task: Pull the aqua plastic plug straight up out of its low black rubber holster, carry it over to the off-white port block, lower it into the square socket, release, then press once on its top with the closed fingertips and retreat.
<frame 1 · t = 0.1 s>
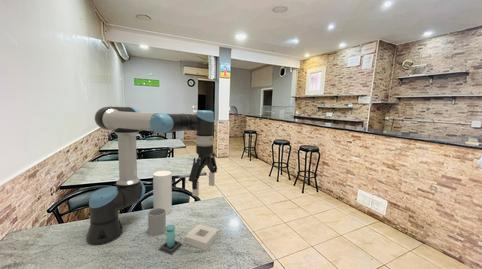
hand: (204, 190, 93), 28 cm above the table, fingers open, 13 cm apart
vase: (162, 211, 127), on the table
plug: (170, 247, 94), point 1 cm above the table, touching holster
mug: (158, 230, 108), on the table
port: (202, 240, 100), on the table
holster: (170, 248, 94), on the table
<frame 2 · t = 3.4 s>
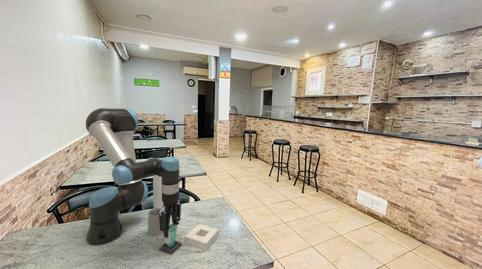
hand: (170, 240, 93), 4 cm above the table, fingers closed on plug, 4 cm apart
plug: (170, 247, 94), point 1 cm above the table, touching gripper, holster
everything else where it was.
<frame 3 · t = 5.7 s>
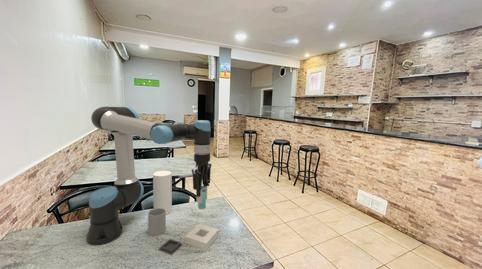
hand: (201, 200, 97), 21 cm above the table, fingers closed on plug, 4 cm apart
plug: (202, 207, 98), point 18 cm above the table, touching gripper
everything else where it was.
when the fingers open (5 cm above the table, at t = 8.2 s): plug drops 2 cm, resting in port.
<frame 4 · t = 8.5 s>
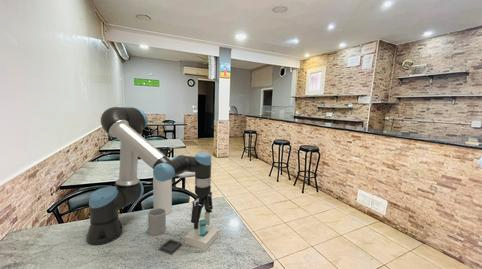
hand: (202, 229, 100), 6 cm above the table, fingers open, 8 cm apart
plug: (202, 240, 100), resting in port
everything else where it was.
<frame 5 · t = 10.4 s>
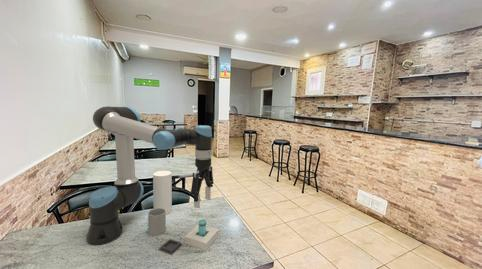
hand: (202, 203, 98), 19 cm above the table, fingers open, 9 cm apart
nothing on the table moved.
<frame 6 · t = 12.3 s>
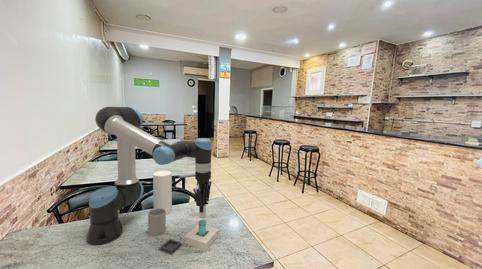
hand: (202, 217, 99), 12 cm above the table, fingers closed
nothing on the table moved.
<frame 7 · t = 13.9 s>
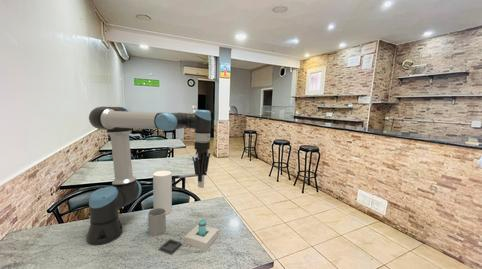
hand: (200, 187, 102), 26 cm above the table, fingers closed
nothing on the table moved.
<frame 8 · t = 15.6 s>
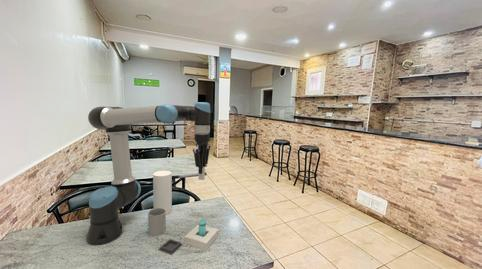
hand: (201, 179, 103), 29 cm above the table, fingers closed
nothing on the table moved.
at the end: plug 0.0 cm off-centre on the port, point 0.0 cm above the port's base; plug tilted 0°; the gripper is holding nothing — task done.
